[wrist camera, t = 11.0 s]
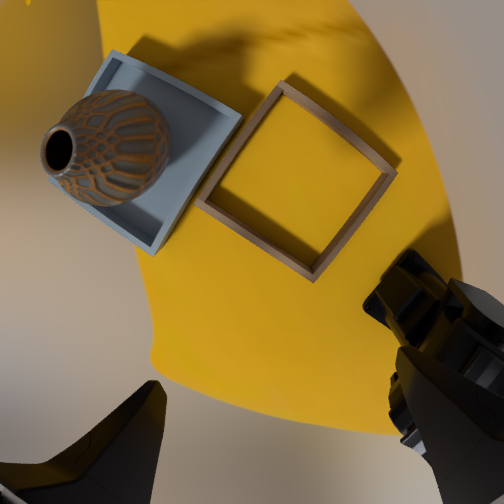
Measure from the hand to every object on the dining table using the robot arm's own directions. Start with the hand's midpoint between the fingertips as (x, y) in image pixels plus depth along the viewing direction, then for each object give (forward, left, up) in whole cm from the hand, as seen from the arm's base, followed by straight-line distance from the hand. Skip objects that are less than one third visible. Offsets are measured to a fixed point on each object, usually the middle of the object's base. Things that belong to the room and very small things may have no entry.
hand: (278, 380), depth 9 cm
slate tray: (+12, -1, -12) cm, 17 cm away
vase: (+12, -2, -12) cm, 17 cm away
